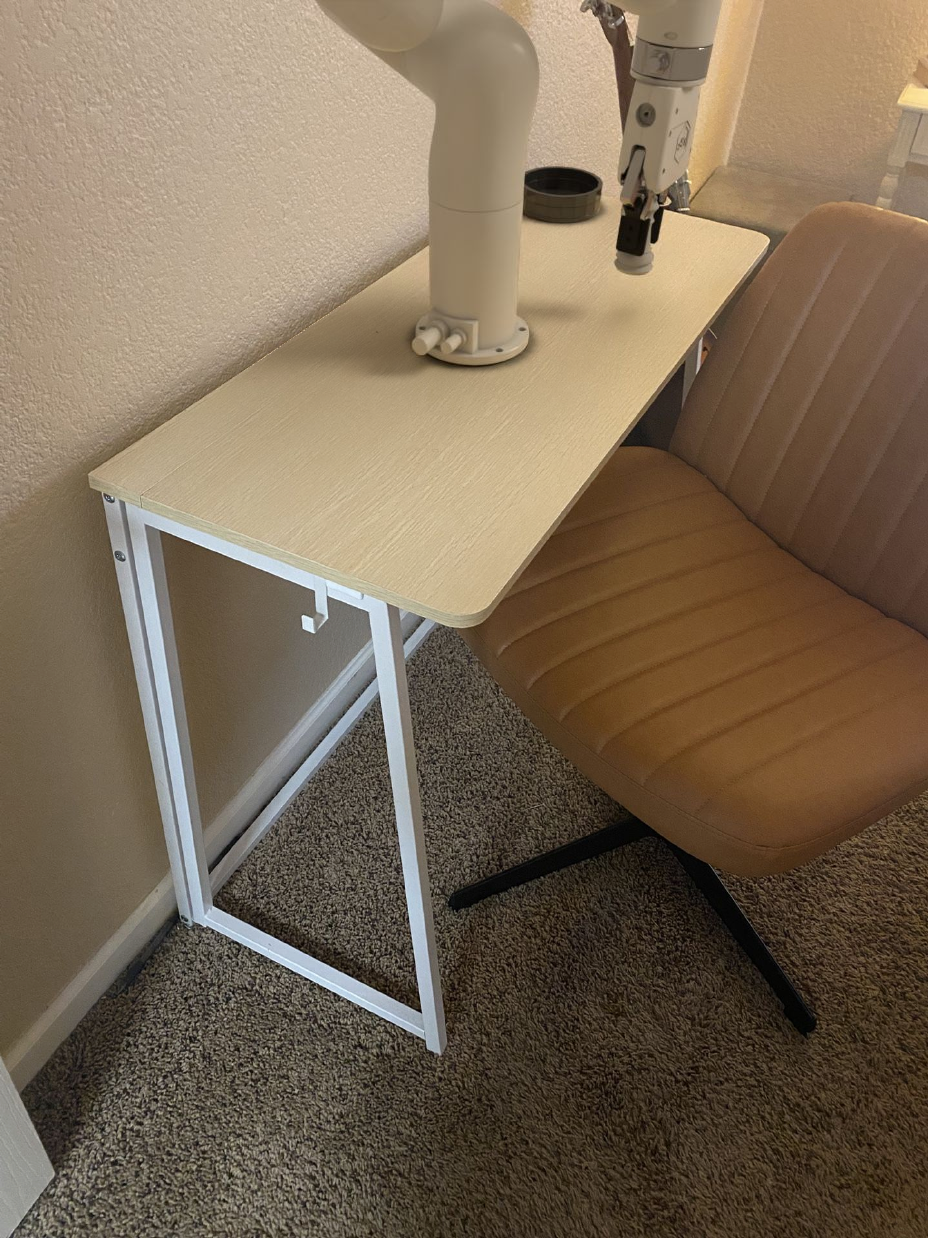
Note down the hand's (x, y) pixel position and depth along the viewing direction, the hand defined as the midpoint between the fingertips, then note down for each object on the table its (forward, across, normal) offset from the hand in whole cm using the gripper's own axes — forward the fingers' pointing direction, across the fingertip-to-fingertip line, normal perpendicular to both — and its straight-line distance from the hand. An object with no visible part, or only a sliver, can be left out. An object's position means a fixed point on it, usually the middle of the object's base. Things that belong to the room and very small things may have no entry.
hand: (636, 244), depth 105 cm
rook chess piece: (+3, 0, 0) cm, 3 cm away
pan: (+8, +25, +20) cm, 33 cm away
